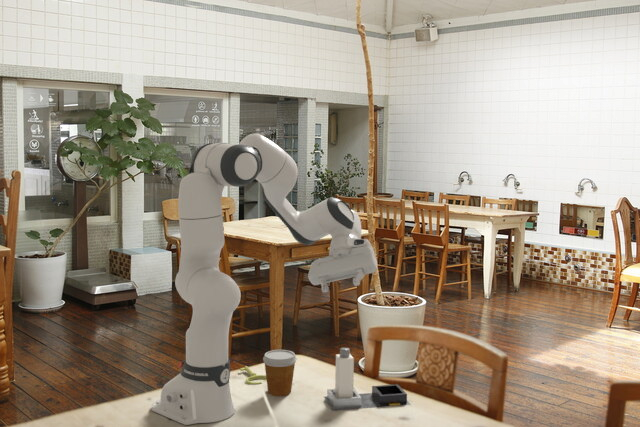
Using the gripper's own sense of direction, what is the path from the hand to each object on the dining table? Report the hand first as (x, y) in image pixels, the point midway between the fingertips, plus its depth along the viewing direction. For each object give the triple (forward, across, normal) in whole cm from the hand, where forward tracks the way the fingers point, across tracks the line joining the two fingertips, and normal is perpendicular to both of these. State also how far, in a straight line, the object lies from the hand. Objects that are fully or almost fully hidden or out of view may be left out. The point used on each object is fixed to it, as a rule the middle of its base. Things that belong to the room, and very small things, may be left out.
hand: (340, 287), depth 192 cm
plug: (+22, -6, +22) cm, 31 cm away
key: (+8, -37, +22) cm, 44 cm away
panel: (+21, 0, +26) cm, 33 cm away
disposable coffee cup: (+19, -24, +19) cm, 36 cm away
